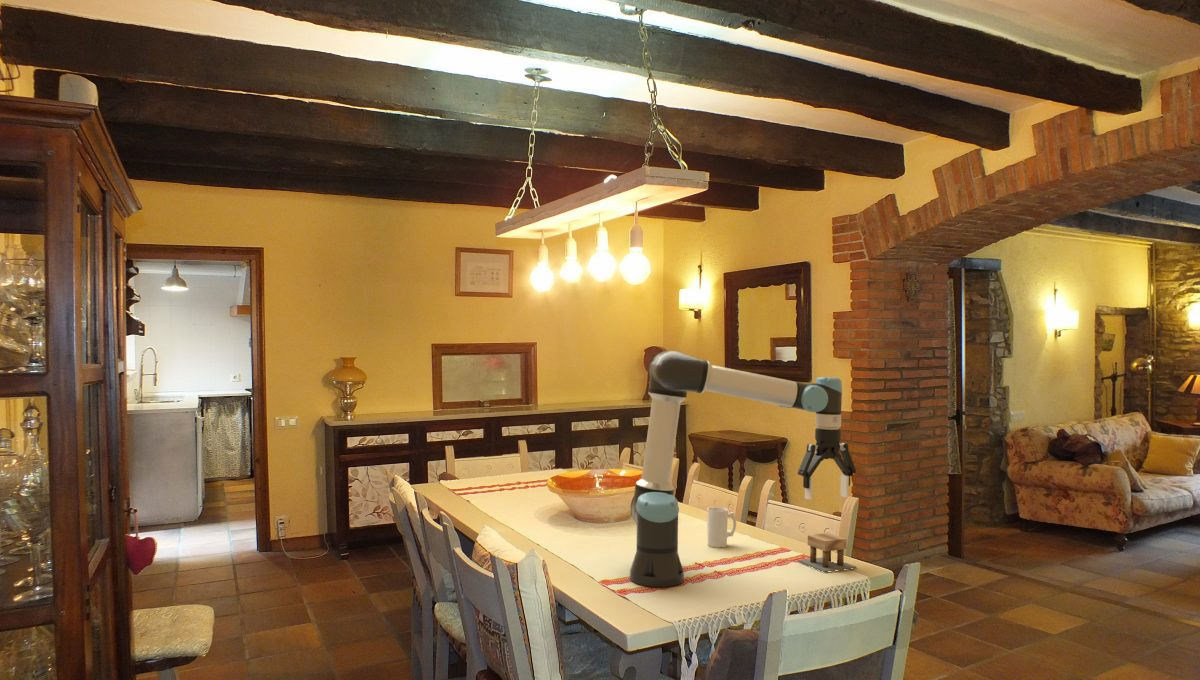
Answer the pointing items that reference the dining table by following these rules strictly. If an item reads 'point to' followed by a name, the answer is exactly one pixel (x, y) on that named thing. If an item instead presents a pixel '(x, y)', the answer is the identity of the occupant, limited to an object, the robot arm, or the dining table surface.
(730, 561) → the dining table surface
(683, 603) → the dining table surface
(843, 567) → the mat
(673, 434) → the robot arm
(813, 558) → the stool
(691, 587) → the dining table surface
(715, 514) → the mug
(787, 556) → the dining table surface
